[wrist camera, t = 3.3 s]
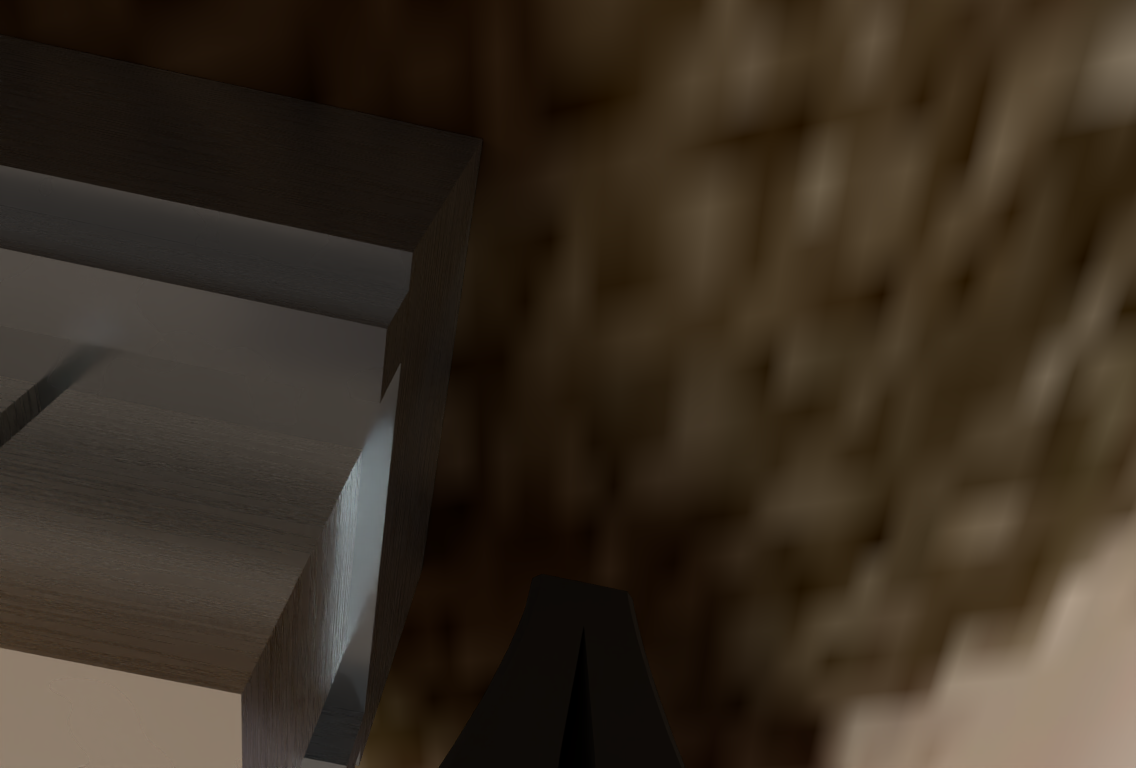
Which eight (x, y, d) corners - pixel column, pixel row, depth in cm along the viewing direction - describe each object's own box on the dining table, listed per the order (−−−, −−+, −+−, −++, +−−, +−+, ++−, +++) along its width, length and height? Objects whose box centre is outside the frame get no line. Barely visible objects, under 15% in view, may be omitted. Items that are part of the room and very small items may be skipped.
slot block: (483, 139, 14) (389, 288, 9) (421, 569, 19) (341, 819, 14) (-56, 21, 14) (-469, 106, 9) (29, 490, 19) (-199, 717, 14)
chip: (362, 449, 11) (241, 693, 8) (346, 648, 13) (243, 911, 10) (67, 389, 11) (-186, 611, 8) (96, 599, 13) (-93, 848, 10)
